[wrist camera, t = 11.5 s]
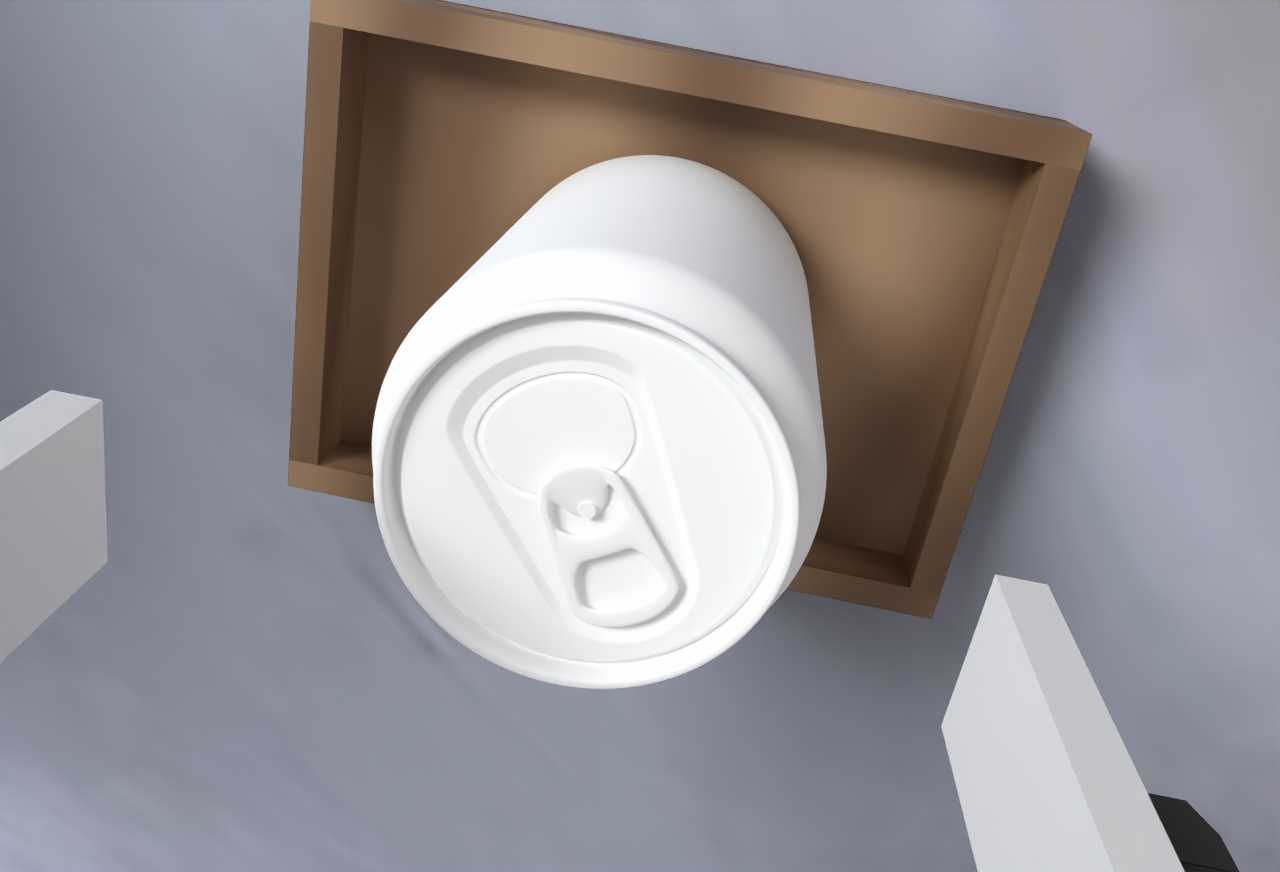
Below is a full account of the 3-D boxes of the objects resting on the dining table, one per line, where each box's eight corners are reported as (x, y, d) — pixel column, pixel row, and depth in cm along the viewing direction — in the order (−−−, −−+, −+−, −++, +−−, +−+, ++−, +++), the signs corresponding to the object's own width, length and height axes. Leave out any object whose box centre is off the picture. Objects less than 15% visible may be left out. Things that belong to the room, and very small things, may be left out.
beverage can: (749, 102, 27) (734, 194, 16) (847, 396, 29) (892, 649, 19) (455, 214, 29) (258, 366, 18) (572, 481, 31) (464, 756, 20)
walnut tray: (323, 448, 33) (287, 485, 30) (351, -17, 28) (311, -16, 25) (919, 571, 32) (931, 619, 30) (1064, 119, 27) (1092, 134, 25)
